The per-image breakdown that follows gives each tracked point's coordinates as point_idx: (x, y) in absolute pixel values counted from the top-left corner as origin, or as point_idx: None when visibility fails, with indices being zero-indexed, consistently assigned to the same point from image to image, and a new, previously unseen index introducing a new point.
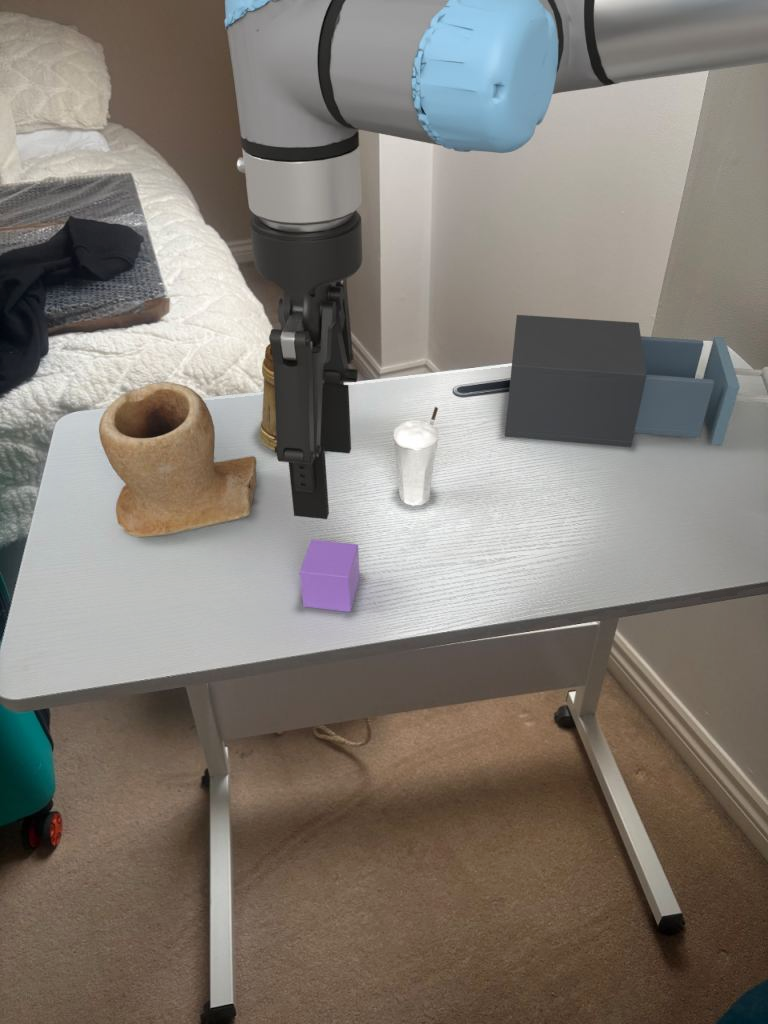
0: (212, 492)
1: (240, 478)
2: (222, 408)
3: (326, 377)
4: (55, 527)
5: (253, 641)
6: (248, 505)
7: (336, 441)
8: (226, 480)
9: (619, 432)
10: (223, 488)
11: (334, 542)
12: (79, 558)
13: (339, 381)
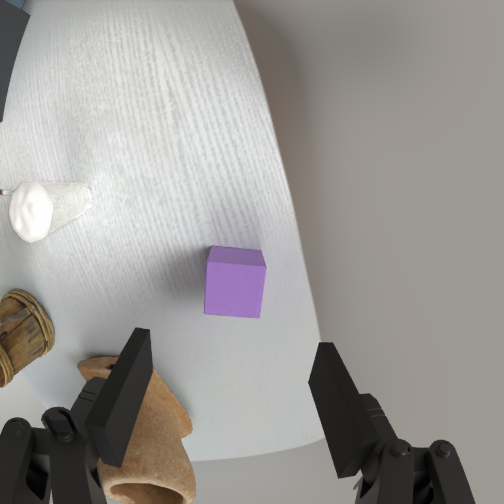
0: (146, 401)
1: None
2: (28, 377)
3: (94, 463)
4: None
5: (299, 328)
6: None
7: (145, 361)
8: None
9: (18, 20)
10: None
11: (206, 288)
12: (214, 443)
13: (88, 442)
